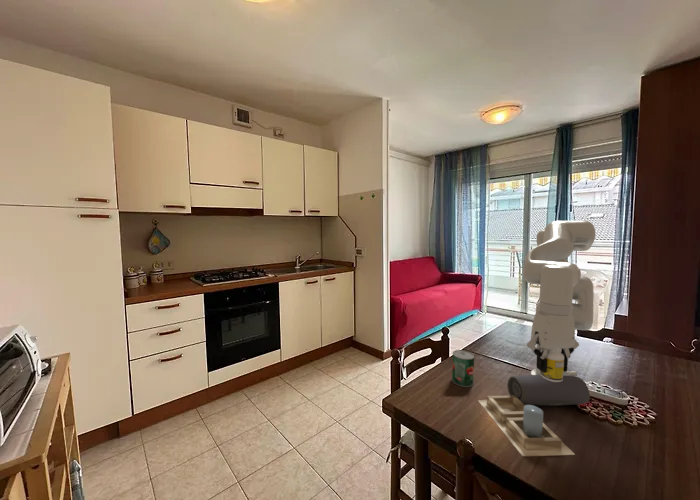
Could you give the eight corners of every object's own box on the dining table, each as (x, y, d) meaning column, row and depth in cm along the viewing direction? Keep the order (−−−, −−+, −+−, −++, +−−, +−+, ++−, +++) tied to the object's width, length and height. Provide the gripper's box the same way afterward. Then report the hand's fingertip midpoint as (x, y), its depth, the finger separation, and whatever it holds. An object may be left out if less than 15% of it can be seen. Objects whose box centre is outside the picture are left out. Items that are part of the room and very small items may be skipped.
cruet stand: (477, 403, 97) (477, 393, 97) (517, 402, 98) (517, 392, 98) (522, 460, 73) (523, 447, 73) (575, 458, 74) (575, 445, 74)
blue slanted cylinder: (534, 430, 82) (535, 404, 82) (545, 442, 78) (547, 414, 77) (518, 431, 82) (520, 404, 82) (529, 443, 78) (530, 415, 77)
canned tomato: (475, 388, 107) (476, 359, 106) (453, 385, 108) (454, 357, 107) (471, 377, 114) (471, 350, 114) (450, 375, 116) (451, 349, 115)
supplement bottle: (535, 373, 85) (537, 341, 84) (552, 372, 85) (554, 340, 85) (550, 383, 79) (552, 349, 79) (567, 382, 80) (570, 348, 79)
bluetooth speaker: (566, 397, 102) (568, 369, 101) (590, 413, 92) (592, 383, 92) (505, 397, 100) (507, 369, 100) (522, 413, 91) (524, 383, 91)
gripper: (572, 304, 85) (568, 362, 87) (517, 305, 84) (514, 364, 85) (595, 311, 78) (591, 375, 79) (535, 313, 76) (532, 378, 78)
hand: (551, 369), depth 82 cm, fingers closed on supplement bottle, 5 cm apart
